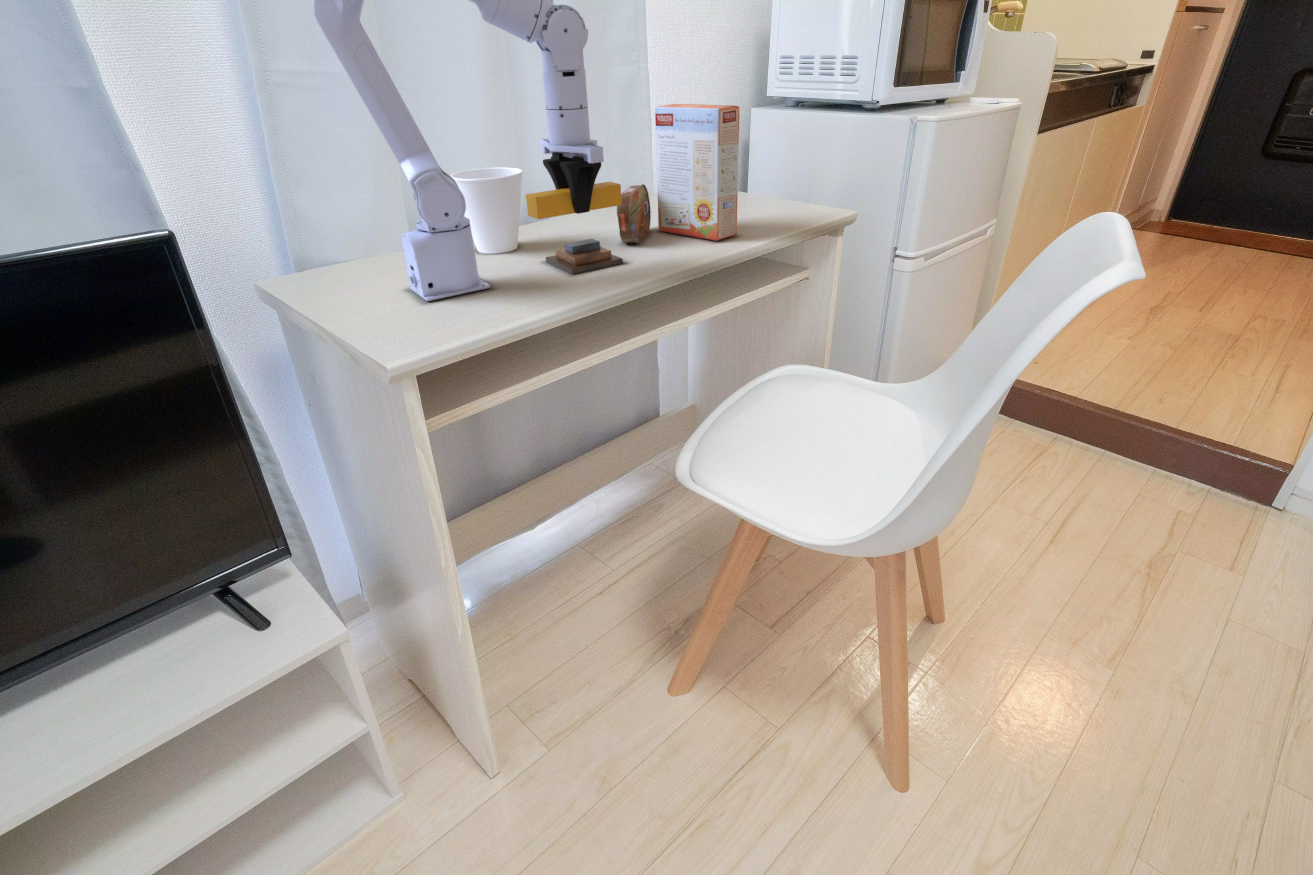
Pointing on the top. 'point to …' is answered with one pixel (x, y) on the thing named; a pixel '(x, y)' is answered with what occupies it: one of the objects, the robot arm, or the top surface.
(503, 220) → the cup
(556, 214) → the bar
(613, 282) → the top surface
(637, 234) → the tin
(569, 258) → the brown stepped stand
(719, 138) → the cracker box
